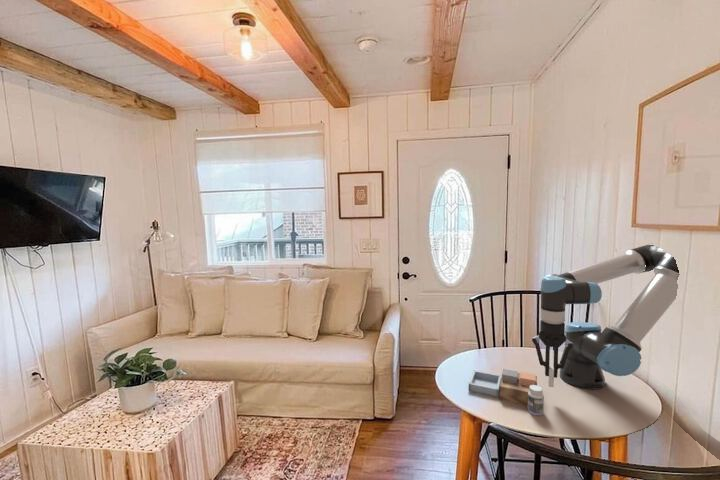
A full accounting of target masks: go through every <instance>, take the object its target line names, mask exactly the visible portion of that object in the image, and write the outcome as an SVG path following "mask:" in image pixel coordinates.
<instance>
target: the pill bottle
mask: <svg viewBox="0 0 720 480" xmlns="http://www.w3.org/2000/svg"><path fill="white" fill-rule="evenodd" d="M543 393H544V391H543V388H542V387H541V386H540V385H538V384H537V385H530V387H529V392H528V405H527V410H528V412H529V413H530V414H532V415H535V416H541V415H543V414H544V399H545V398H544V394H543Z"/></svg>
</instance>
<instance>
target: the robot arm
mask: <svg viewBox="0 0 720 480" xmlns="http://www.w3.org/2000/svg"><path fill="white" fill-rule="evenodd" d="M645 265H646V267H645ZM653 269H654V272H653V273H654V276H653V278H652V279H651V280H650V281H649V282H648V283H647V284H646V285H645V287H644V288H643V289H642V291H641V292H640V293H639V294H638V296H637V297H636V298H635V299H634V300H633V302H632V303H631V304H630V306H628V307H627V309H626V310H625V311H624V312H623V313H622V315H621V316H620V317H619V319H618V320H617V321H616V323H615V324H614V325H612V326H606V327H605V328H604V329H602V328H601V325H599V324H597V323H594V322H587V321H586V322H585V321H584V322H583V321H572V322H568V323H567V324H566V325H565V322H566V305H591V304H597V303H599V302H600V301H601V299H602V297H603V295H602V294H603V292H602V289H601V286H600V285H599V284H601V283H605V282H608V281H611V280H614V279H617V278H620V277H624V276H627V275H630V274H636V275H637V274H639V275H640V274H643V273H647V272H648V273H650V272H649V271H651V270H653ZM644 270H645V271H644ZM679 275H680V274H679V270H678V267H677V264H676V260H675V259H674V257H672V256H671V255H670V254H668V253H666V252H665V251H663V249H661V248H659V247H657V246H654V245H649V244H645V245H641V246H638V247H635V248H631V249H628V250H626V251H625V252H624V253H623V254H621V255H617V256H615V257H612V258H609V259H605V260H602V261H600V262H597V263H593V264H590V265H586V266H582V267H580V268H576V269H574V270H570V271H567V272H564V273H561V274H556V273H555V274H554V273H549V274H546V275H545V276H544V277H543V278H542V279H541V283H540V319H541V320H540V324H539V332H538V335H535V336H532V337H531V341H532V344H534V347H535V350H536V354H537V358H538V362H539V365H540V366H543V367H544V375H545V377H548V381H547V382H548V387H549V388H554V385H555V384H554V381H555V380H554V379H555V378H556V379H557V378H558V376H559V377H560V379H561V380H563V381H564V382H565V383H568V384H570V385H572V386H575V387H578V388H582V389H587V390H588V389H589V390H599V389H602V388H604V387H605V385H606V379H605V375H604V372H606V373H608V374H610V375H612V376H616V377H627V376H630V375H632V374H633V373H635V372H637V370H639V368H640V366H641V364H642V361H641V360H642V355H641V353H640V352H641V351H642V349H643V347H642V345H641V342H642V340H643V339H644V338H645V337H646V336H647V335H648V333H649V332H650V331H651V330H652V329H653V328H654V326H655V325H656V323H657V322H659V320H660V319H661V318H662V316H664V314H665V313H666V312H667V310H668V309H669V308H670V306H672V304H673V303H674V302H675V301H676V299H677V298H676V296H677V289H678V284H677V280H678V277H679ZM602 330H603V331H602ZM540 341H541V342H542V344H543V345H544V346H545V360H544V359H543V355H542V350H541V346H540ZM563 344H564V347H563V351H562V355H561V358H560V360H559V348H561V346H562V345H563ZM551 348H553V366H552V365H550V361H551V359H550V357H551V356H550V354H551V351H550V350H551ZM558 370H559V373H558ZM603 371H604V372H603ZM558 374H559V375H558Z"/></svg>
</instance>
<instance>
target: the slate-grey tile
mask: <svg viewBox="0 0 720 480" xmlns="http://www.w3.org/2000/svg"><path fill="white" fill-rule="evenodd" d="M502 372H503V374H502V373H501V377H502V381H506V382H511V383H516V384H517V379H518V373H519V371H518V370H512V369H507V368H503V370H502Z"/></svg>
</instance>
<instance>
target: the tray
mask: <svg viewBox="0 0 720 480" xmlns="http://www.w3.org/2000/svg"><path fill="white" fill-rule="evenodd" d="M501 377H502V374H496V373H495V374H494V373H489V372H486V371H485V372H484V371H481V370H472V373H471V377H470V379H469V381H468V392H471V393H475V394H480V395H484V396H490V397H493V398H500V382H501Z"/></svg>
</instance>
